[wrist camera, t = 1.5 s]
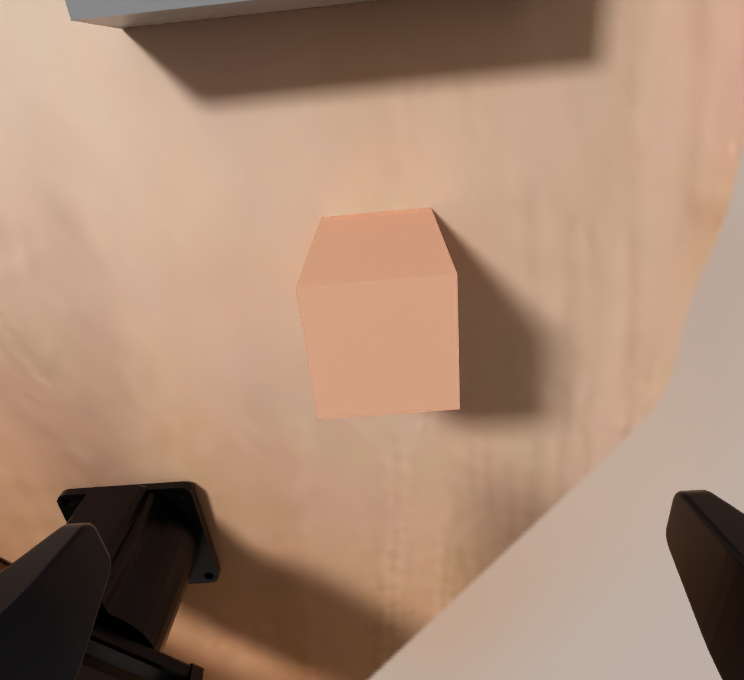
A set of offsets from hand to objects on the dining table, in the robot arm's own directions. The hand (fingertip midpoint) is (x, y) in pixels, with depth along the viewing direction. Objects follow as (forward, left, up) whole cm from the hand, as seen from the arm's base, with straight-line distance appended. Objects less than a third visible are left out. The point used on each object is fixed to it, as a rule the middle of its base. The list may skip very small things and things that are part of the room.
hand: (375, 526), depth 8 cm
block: (0, 0, -13) cm, 13 cm away
